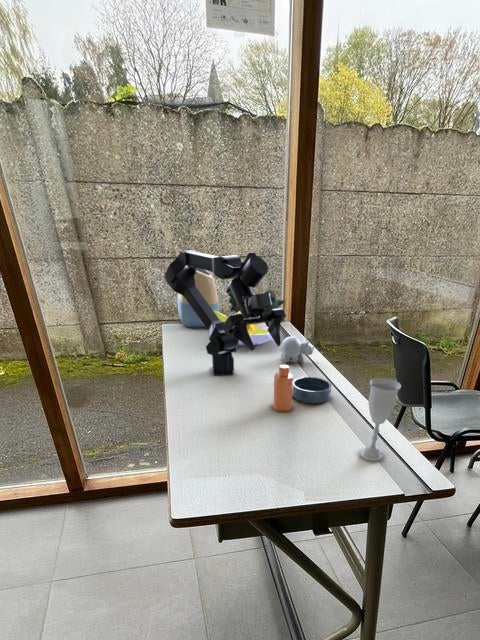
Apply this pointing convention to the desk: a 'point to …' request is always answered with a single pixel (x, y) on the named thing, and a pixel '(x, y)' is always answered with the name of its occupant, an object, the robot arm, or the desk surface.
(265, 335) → the fruit bowl
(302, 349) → the round bodied animal figurine
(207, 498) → the desk surface
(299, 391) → the bowl
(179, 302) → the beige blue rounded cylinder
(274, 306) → the toy figurine
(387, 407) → the chalice
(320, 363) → the desk surface
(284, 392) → the orange bottle
